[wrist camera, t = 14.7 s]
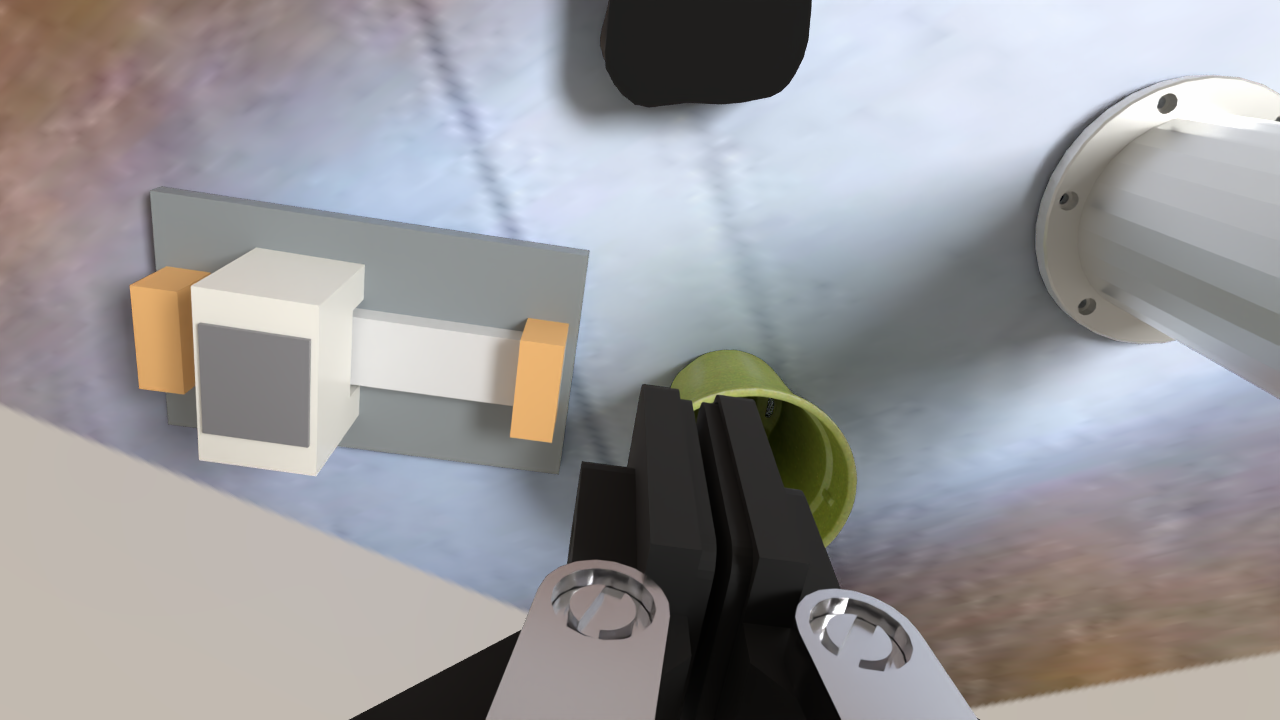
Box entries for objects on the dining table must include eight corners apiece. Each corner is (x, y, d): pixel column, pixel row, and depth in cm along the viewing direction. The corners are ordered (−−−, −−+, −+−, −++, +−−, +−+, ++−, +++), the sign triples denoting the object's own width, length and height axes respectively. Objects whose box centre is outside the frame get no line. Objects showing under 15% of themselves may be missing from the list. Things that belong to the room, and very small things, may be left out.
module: (364, 264, 37) (317, 307, 32) (359, 414, 40) (314, 478, 35) (256, 247, 37) (188, 287, 31) (258, 400, 40) (196, 462, 34)
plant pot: (632, 478, 43) (633, 581, 35) (635, 315, 40) (637, 388, 32) (803, 480, 43) (843, 582, 35) (821, 318, 40) (871, 391, 32)
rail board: (589, 250, 38) (585, 274, 34) (560, 464, 43) (553, 506, 39) (161, 186, 37) (109, 204, 33) (178, 415, 41) (134, 453, 38)
